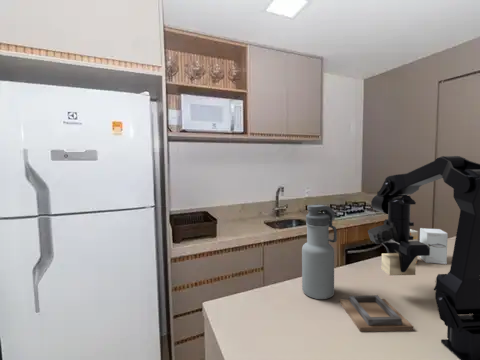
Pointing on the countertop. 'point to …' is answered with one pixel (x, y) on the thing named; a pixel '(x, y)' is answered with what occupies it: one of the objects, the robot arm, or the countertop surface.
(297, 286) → the countertop surface
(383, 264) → the maple block
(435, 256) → the supplement box
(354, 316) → the nest board
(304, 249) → the water bottle
